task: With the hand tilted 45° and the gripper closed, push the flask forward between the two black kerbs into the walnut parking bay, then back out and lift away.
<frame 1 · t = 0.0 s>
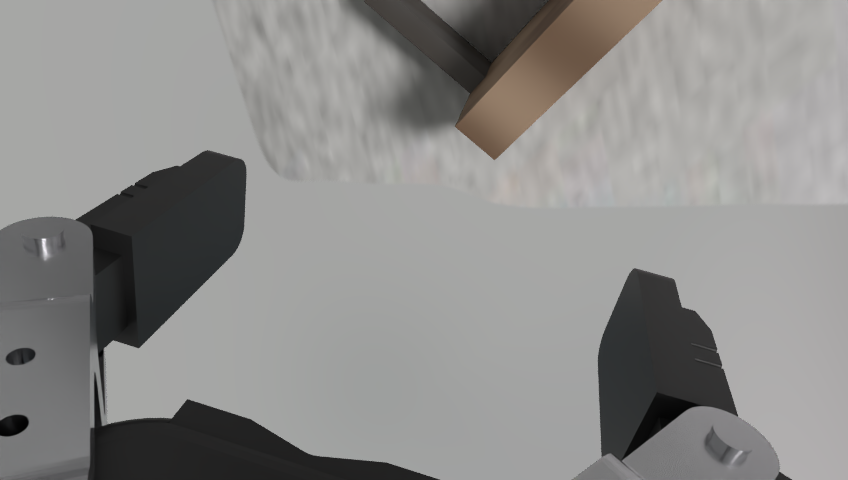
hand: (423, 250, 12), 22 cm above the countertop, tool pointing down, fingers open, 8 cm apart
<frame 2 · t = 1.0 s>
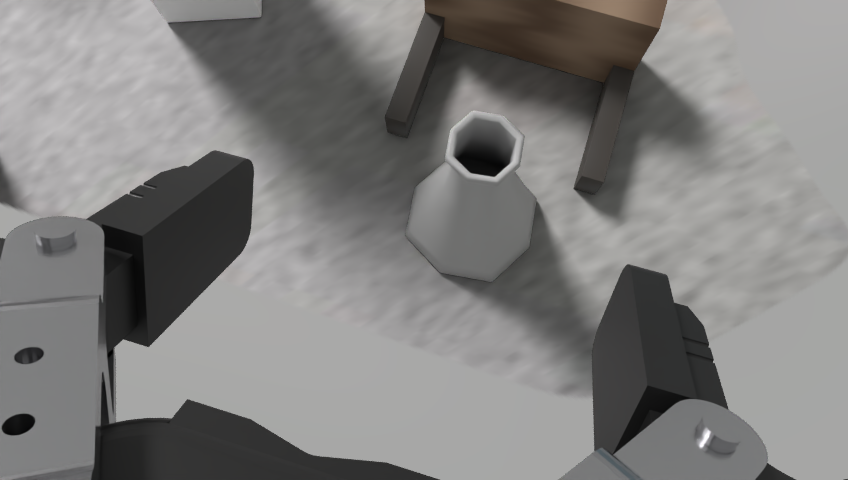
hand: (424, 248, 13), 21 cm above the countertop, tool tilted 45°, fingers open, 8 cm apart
parking bay: (506, 110, 36), on the countertop
flask: (470, 219, 35), on the countertop
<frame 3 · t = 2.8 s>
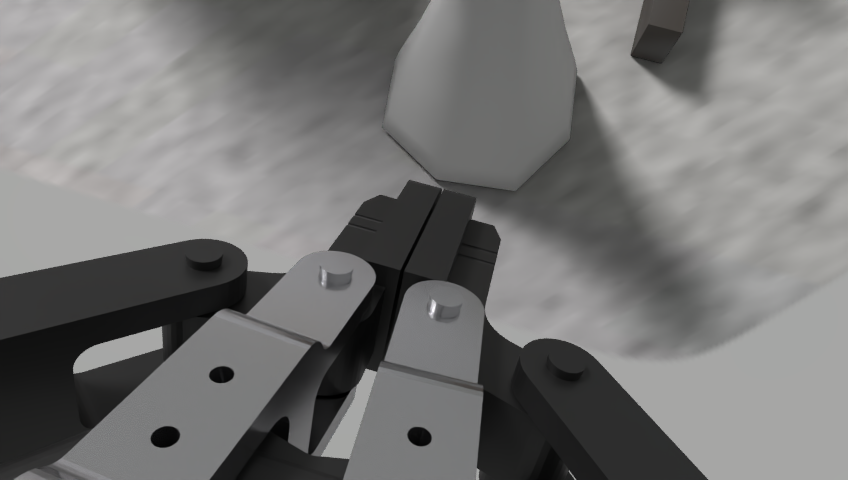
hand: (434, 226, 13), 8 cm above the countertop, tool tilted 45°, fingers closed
flask: (479, 104, 23), on the countertop
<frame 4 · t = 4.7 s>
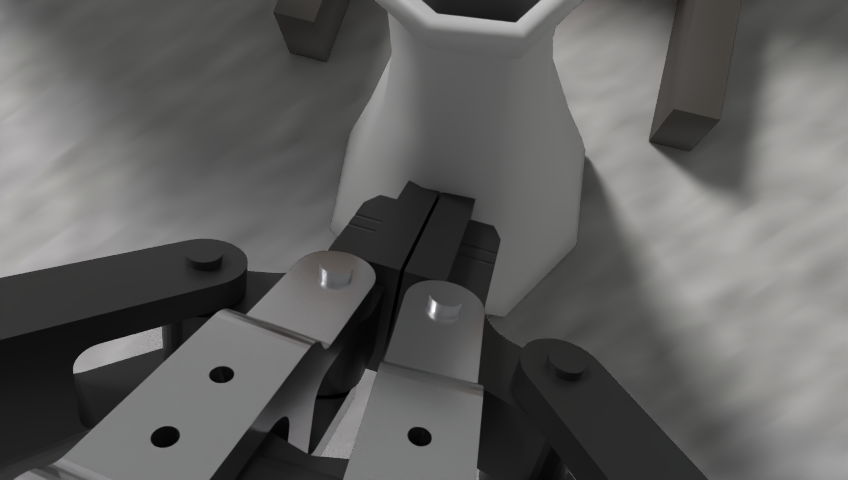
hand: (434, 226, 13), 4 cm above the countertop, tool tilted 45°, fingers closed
parking bay: (511, 3, 19), on the countertop
flask: (458, 194, 18), on the countertop, touching gripper
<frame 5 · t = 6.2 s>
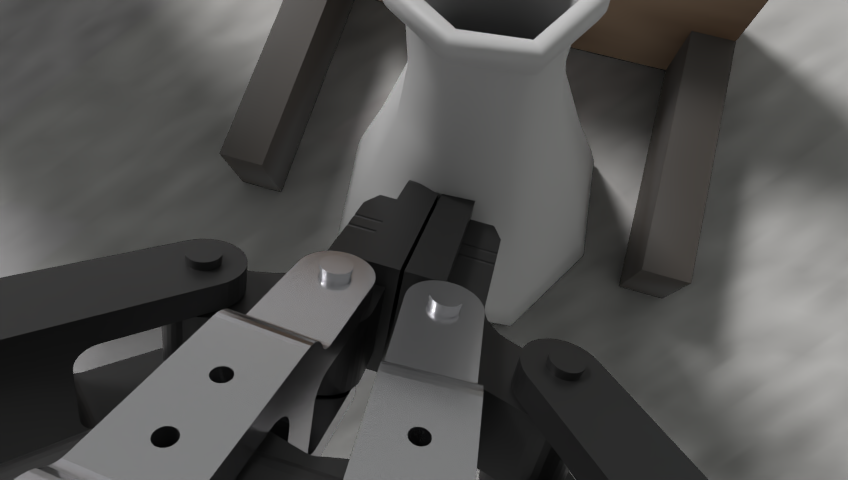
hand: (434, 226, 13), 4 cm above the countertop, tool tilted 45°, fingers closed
parking bay: (477, 129, 18), on the countertop
flask: (466, 202, 18), on the countertop
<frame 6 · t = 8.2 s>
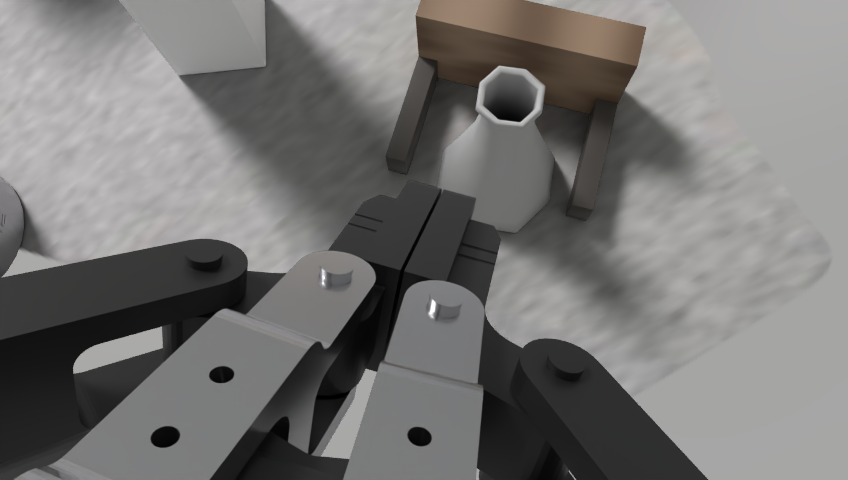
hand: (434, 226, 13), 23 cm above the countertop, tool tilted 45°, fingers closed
parking bay: (499, 144, 38), on the countertop
flask: (494, 178, 38), on the countertop
milk: (223, 35, 42), on the countertop
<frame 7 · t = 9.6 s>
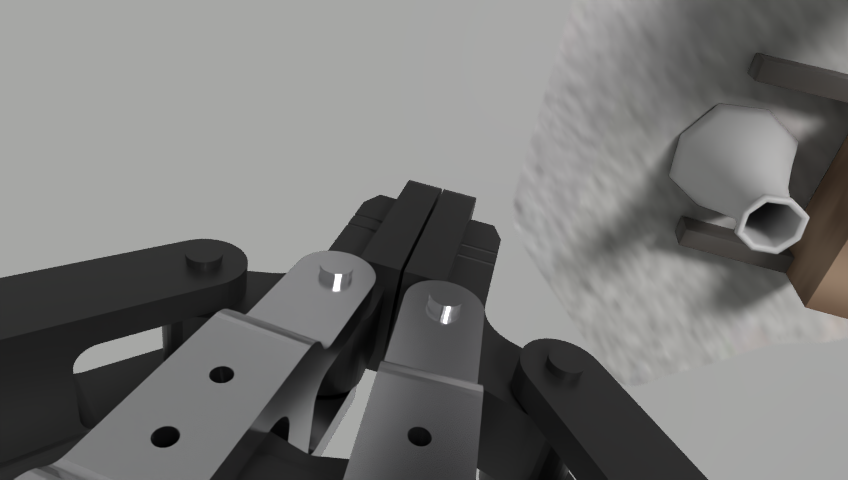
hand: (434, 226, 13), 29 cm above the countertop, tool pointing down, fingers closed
parking bay: (767, 162, 39), on the countertop
flask: (729, 156, 40), on the countertop
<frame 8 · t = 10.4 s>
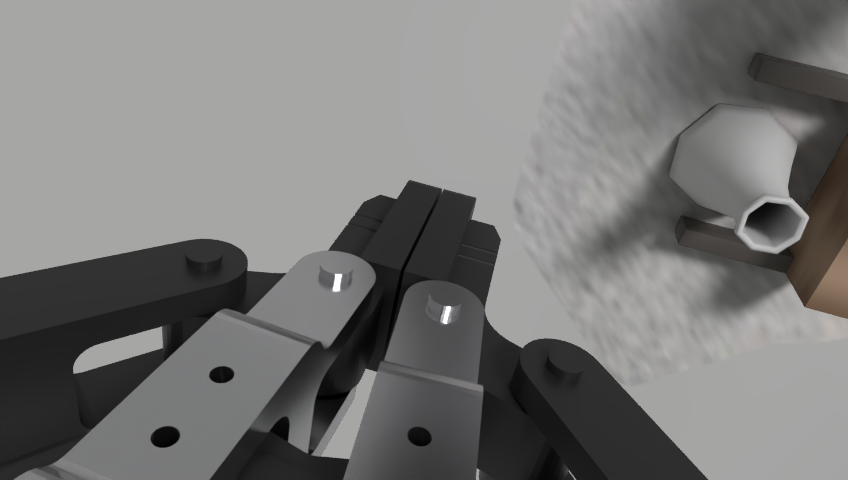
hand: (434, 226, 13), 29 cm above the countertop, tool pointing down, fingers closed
parking bay: (767, 162, 39), on the countertop
flask: (729, 156, 40), on the countertop
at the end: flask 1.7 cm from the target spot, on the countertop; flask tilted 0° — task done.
